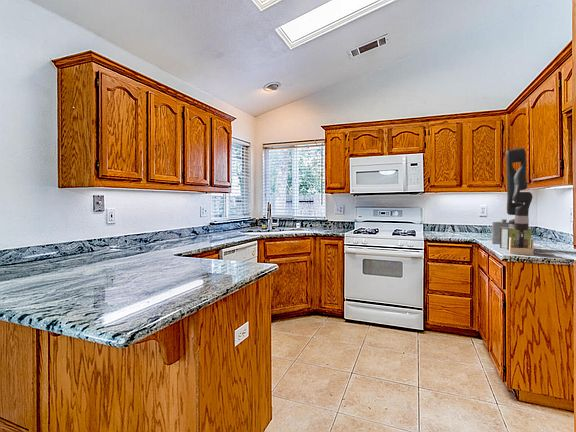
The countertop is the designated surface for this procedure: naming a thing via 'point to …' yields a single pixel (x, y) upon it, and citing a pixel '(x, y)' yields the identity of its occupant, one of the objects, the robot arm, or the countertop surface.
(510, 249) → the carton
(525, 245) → the walnut block
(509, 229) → the protein box
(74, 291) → the countertop surface
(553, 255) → the mat
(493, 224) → the hip flask
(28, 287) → the countertop surface
